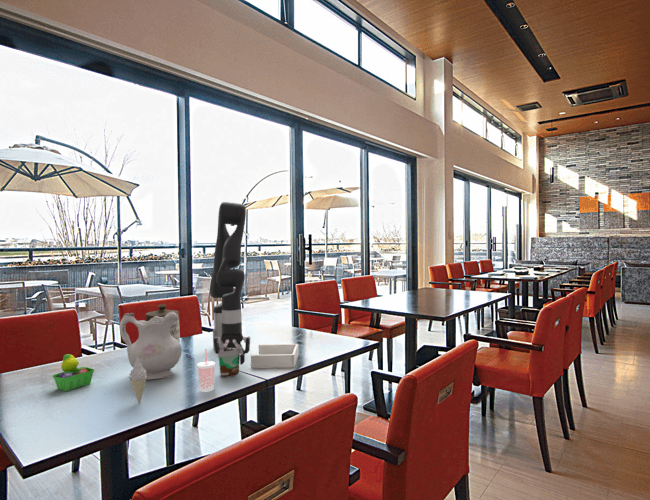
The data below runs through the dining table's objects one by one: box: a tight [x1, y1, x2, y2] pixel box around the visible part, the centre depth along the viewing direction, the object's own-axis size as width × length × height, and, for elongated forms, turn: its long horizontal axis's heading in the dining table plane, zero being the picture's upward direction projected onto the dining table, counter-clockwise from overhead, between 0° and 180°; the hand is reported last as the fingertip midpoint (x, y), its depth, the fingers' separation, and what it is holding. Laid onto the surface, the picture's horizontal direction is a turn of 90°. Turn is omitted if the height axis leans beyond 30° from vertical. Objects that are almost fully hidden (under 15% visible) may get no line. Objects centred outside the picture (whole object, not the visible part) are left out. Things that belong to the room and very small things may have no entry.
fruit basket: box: [52, 353, 95, 392], centre depth 152 cm, size 11×9×11 cm
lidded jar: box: [145, 303, 181, 343], centre depth 199 cm, size 15×15×22 cm
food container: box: [217, 347, 241, 378], centre depth 162 cm, size 12×6×10 cm, turn 168°
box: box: [250, 343, 300, 369], centre depth 178 cm, size 18×18×5 cm
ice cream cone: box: [129, 357, 147, 404], centre depth 134 cm, size 5×5×15 cm
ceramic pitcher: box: [119, 312, 183, 381], centre depth 162 cm, size 22×20×25 cm
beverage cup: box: [196, 348, 216, 393], centre depth 146 cm, size 6×6×14 cm
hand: (232, 364), depth 162 cm, fingers closed on food container, 6 cm apart
